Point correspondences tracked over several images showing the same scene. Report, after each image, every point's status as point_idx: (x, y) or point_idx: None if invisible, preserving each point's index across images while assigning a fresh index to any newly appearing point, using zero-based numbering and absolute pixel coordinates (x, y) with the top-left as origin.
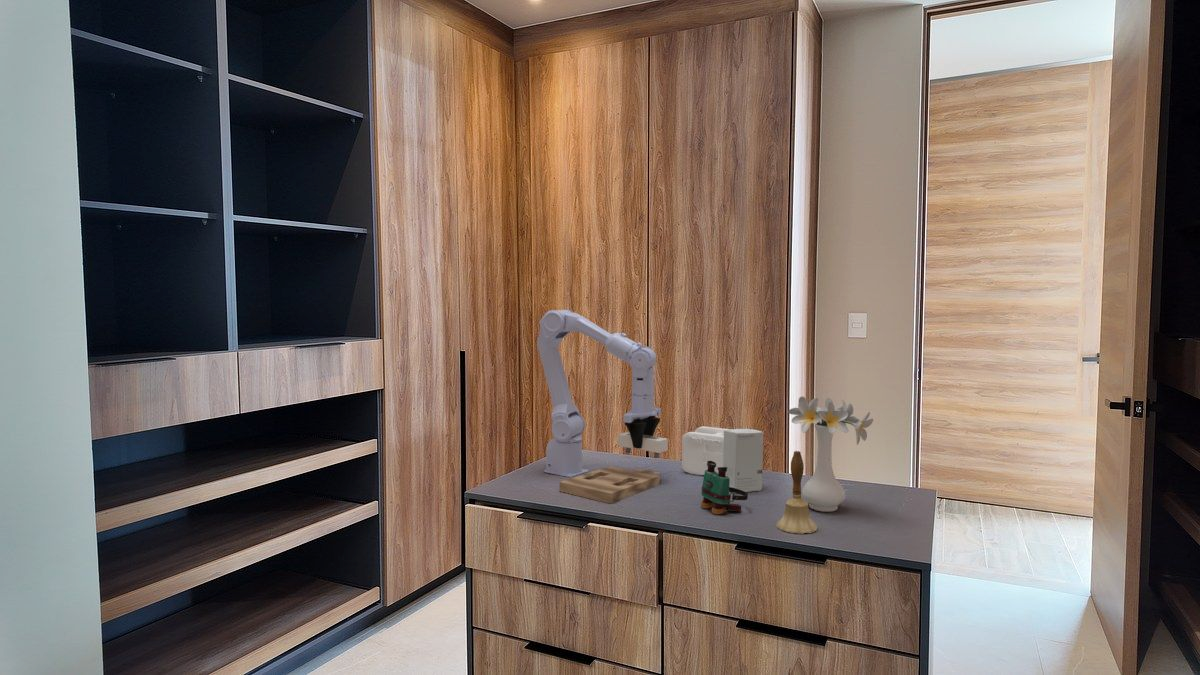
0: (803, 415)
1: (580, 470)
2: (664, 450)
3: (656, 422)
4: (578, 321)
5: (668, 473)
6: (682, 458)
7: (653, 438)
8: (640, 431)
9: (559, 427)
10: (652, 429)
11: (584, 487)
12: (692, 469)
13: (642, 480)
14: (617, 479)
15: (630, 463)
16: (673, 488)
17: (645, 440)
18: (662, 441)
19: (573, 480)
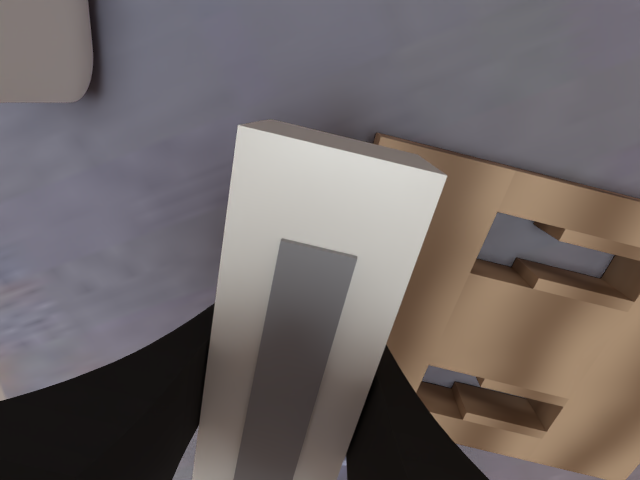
0: None
1: (341, 471)
2: (326, 133)
3: (62, 439)
4: None
5: (142, 168)
6: (36, 96)
7: (348, 283)
8: (479, 472)
9: None
10: (172, 389)
11: None
12: (79, 20)
13: (512, 191)
14: (526, 309)
15: (96, 363)
16: (405, 36)
17: (383, 341)
18: (372, 154)
19: (588, 450)
